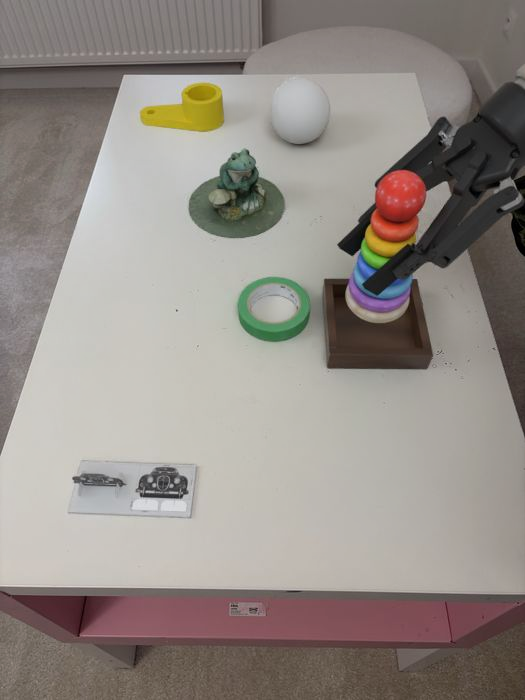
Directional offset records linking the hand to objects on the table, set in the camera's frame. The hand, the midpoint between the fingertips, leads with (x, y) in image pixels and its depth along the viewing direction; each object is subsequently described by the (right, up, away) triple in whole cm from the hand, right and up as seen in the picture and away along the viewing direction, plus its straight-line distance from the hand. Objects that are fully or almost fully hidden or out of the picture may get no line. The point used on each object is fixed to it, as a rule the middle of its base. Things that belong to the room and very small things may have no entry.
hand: (357, 269), depth 60 cm
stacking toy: (+4, -3, +6) cm, 8 cm away
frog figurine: (-16, +18, +37) cm, 44 cm away
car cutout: (-27, -27, +5) cm, 39 cm away
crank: (-28, +41, +53) cm, 72 cm away
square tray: (+6, -6, +19) cm, 21 cm away
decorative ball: (-3, +35, +49) cm, 60 cm away
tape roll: (-9, -4, +22) cm, 24 cm away
